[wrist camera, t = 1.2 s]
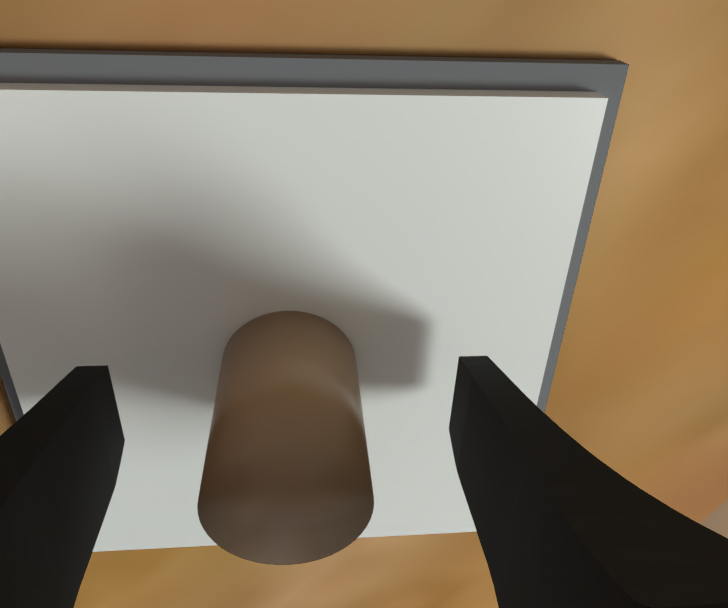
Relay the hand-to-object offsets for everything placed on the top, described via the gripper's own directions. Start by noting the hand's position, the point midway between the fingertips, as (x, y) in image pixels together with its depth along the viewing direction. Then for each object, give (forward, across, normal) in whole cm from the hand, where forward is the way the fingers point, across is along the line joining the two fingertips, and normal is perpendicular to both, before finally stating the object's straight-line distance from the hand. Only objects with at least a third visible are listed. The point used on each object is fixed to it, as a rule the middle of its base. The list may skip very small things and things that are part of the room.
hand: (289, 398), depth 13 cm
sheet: (+2, 0, 0) cm, 2 cm away
